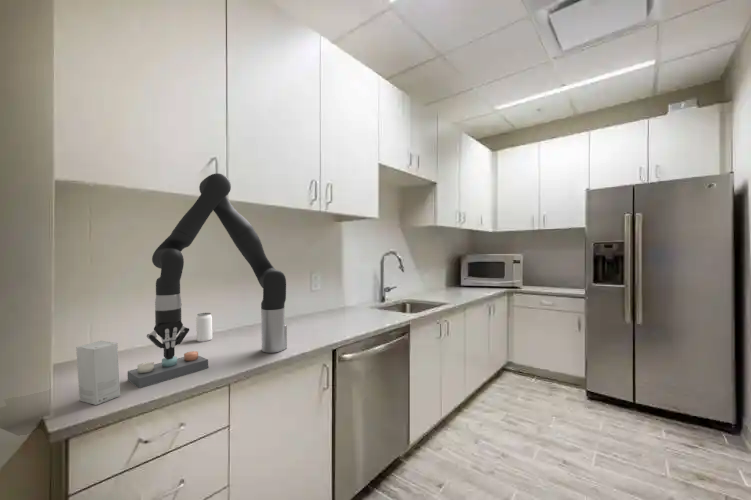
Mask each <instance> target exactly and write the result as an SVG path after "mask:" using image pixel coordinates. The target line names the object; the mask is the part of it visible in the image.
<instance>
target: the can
mask: <svg viewBox="0 0 751 500" xmlns="http://www.w3.org/2000/svg"><path fill="white" fill-rule="evenodd" d="M195 321H196V322H195V323H196V324H195V325H196V326H195V328H196V330H195V331H196V341H197V342H200V343H203V342H209V341H212V339H213V316H212V313H211V312H202V313H201V312H200V313H198V314H197V315H196V319H195Z"/></svg>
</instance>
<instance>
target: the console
mask: <svg viewBox="0 0 751 500" xmlns="http://www.w3.org/2000/svg"><path fill="white" fill-rule="evenodd" d="M205 369H209V359H208V358H206V357H203V356H201V355H198V359H196V360H193V361H185V360H184V356H183V357H182V356H181V357H177V364H176V365H174V366H169V367H163V366H162V362H157V363H154V370H153V371H151V372H147V373H138V369H137V368H135V369H131V370H128V371H127V382H130V383H131V384H132V385H134V386H135V387H136V388H138V389H141V388H145V387H148V386H151V385H155V384H158V383H161V382H165V381H168V379H169V380H172V379H175V377H176V378H179V377H182V376H186V375H189V374H192V373H196V372H199V371H203V370H205ZM171 378H172V379H171Z"/></svg>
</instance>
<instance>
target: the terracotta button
mask: <svg viewBox="0 0 751 500" xmlns="http://www.w3.org/2000/svg"><path fill="white" fill-rule="evenodd" d="M198 356H199V351H196V350H193V351H192V350H191V351H187V352H185V353H184V354H183V357H184V360H185V361H193V360H196V359H198Z"/></svg>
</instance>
